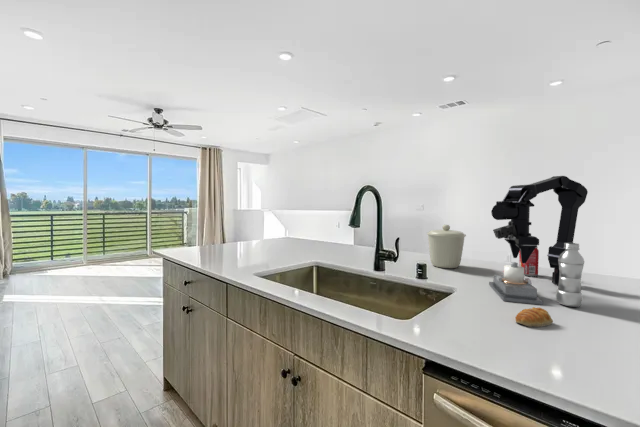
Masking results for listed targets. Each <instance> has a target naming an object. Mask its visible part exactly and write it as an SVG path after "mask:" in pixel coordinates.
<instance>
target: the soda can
mask: <svg viewBox="0 0 640 427" xmlns="http://www.w3.org/2000/svg"><path fill="white" fill-rule="evenodd" d="M539 252H540V250H539V249H538V246H537V247H536V248H535V249H534V251H533V252H532V254H531V255H530V257H529V259H528V260H527V262H526V263H522V261H521V254H520V251H519V254H518V256H519V257H518V266H521V267H524V275H525V276H524V277H530V276H533V277H534V276H535V277H537V276H538V274H539V260H540V259H539V258H540V256H539ZM533 277H532V278H533Z"/></svg>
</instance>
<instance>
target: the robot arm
mask: <svg viewBox="0 0 640 427" xmlns="http://www.w3.org/2000/svg"><path fill="white" fill-rule="evenodd" d="M551 190H553V192H554V193H555V195H556V196H557V201H558V202H559V204H560V206H561V212H560V218H559V222H558V230H557V237H556V243H554V244H553V245H551V246H549V247H548V252H547V255H546V256H547V260H548V264H549V268H550V269H553V271H552V276H551V283H552V284H554V285H555V286H557V287H558V285H559V276H560V275H559V263H558V258H559V256H560V255H561V253H563V252H564V251H565V249H564V243H574V239H575V230H576V226H577V219H578V214H579V209H580V208H581V206H582V205H583V204H585V202H586V199H587V196H588V193H589V192H588V189H587V188H586V187H585V186H584V185H583V184H582V183H580V182H578V181H575V180H573V179H570V178H569V177H568V176H566V175H556V176H552V177H549V178H546V179H542V180H540V181H536V182H533V183H529V184H519V185H517V184H516V185H512V186H510V187H509V189H508V191H507V193H506V194H505V196H504V197H503V199H502V200H501V201H495V203H496V204H495V205H494V206H493V207H492V210H491V216H492V218H493V219H495V220H496V221H505V220H507V221H508V220H509V221H508V222H507V225H504V226H501V227H500V226H499V227H497V228H493V230H492V231H493V234H494V236H495V238H497V239H499V240H500V239H504V241H506V242H507V243H508V244H509V247H510V252H511V255H512V258H513V259H517V258H518V256H519V251H520V254H521V261H522V263H526V262H527V260H528V259H529V257H530V255H531V254H532V252H533V251H534V249H535V248H536V247H538V246H539V245H540V239H539V238H538V237H537V236H533V235H532V233H531V232H530V226H532V222H531V221H530V211H531V210H530V209H531V208H530V207H535V204H534V203H533V202H532V201H531V200H533V199H535V198H536V197H537V196H538V195H539V194H541V193H544V192H548V191H551Z"/></svg>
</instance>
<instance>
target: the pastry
mask: <svg viewBox="0 0 640 427" xmlns="http://www.w3.org/2000/svg"><path fill="white" fill-rule="evenodd" d="M553 322H554V320H553V319H552V317H551V315H550V314H549V311H547V309H544V308H542V307H536V306H535V307H534V306H533V307H532V308H524V309H522V310H521V311H519V312H517V314H516V316H515V323H518V324H521V325H523V326H526V327H529V328H531V327H532V326H534V327H535V328H542V327H547V326H546V325H548V326H550V325H552V324H553ZM534 327H533V328H534Z"/></svg>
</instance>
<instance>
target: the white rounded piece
mask: <svg viewBox="0 0 640 427" xmlns="http://www.w3.org/2000/svg"><path fill="white" fill-rule="evenodd" d="M503 276H504V280H505V281H507V282H512V283H524V280H525V276H524V267H521V266H519V262H515V261H512V262H510V264H505V265H503Z"/></svg>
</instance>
